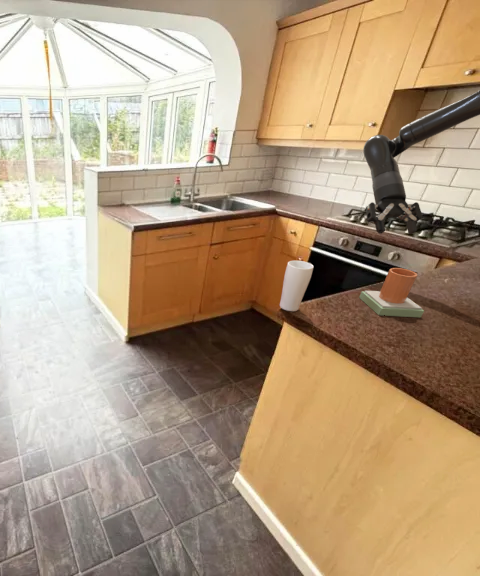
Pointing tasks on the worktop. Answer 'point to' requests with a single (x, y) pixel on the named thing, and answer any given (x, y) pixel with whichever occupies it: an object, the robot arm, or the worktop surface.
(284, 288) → the drinking glass
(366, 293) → the scale
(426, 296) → the worktop surface
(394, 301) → the cup
